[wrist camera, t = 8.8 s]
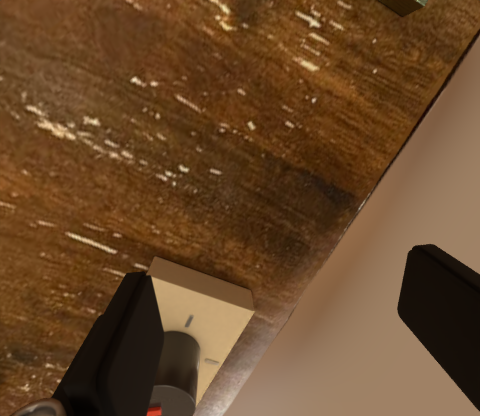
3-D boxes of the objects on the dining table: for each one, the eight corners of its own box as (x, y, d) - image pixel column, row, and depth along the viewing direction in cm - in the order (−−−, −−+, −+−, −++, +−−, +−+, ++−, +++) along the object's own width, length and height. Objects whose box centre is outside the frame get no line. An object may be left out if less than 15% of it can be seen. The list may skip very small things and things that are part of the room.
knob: (196, 327, 24) (189, 385, 19) (203, 366, 26) (199, 429, 21) (140, 334, 24) (119, 394, 19) (152, 373, 25) (135, 437, 20)
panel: (197, 381, 31) (194, 410, 28) (110, 358, 28) (98, 387, 25) (251, 290, 26) (255, 313, 23) (154, 255, 24) (145, 276, 21)
